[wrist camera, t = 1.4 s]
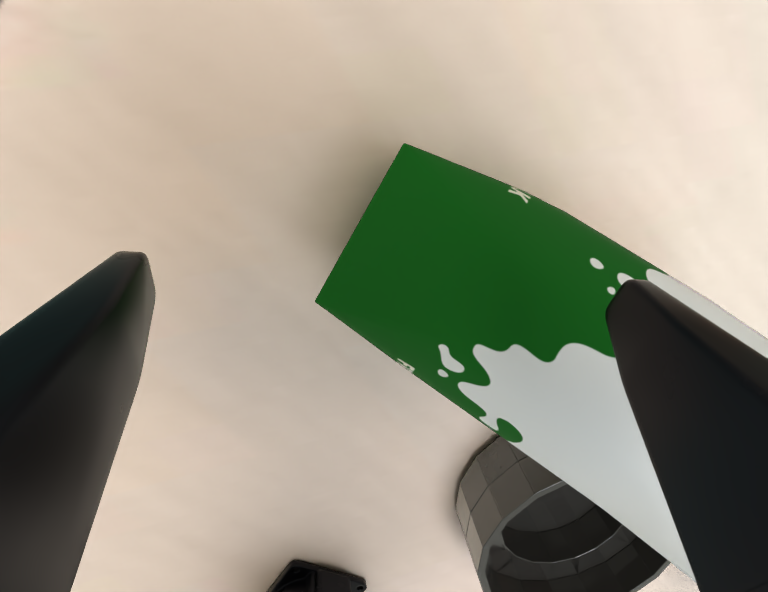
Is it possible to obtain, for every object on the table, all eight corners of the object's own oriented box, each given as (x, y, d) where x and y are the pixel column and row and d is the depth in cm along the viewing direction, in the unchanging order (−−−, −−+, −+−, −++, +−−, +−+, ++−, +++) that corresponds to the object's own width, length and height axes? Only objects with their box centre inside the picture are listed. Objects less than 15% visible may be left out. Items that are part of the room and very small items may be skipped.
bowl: (554, 565, 40) (588, 636, 35) (416, 517, 35) (433, 591, 30) (677, 448, 36) (735, 510, 31) (539, 375, 31) (583, 434, 26)
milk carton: (451, 146, 24) (831, 376, 21) (364, 292, 27) (690, 515, 24) (409, 112, 16) (1019, 481, 13) (290, 327, 19) (771, 674, 16)
